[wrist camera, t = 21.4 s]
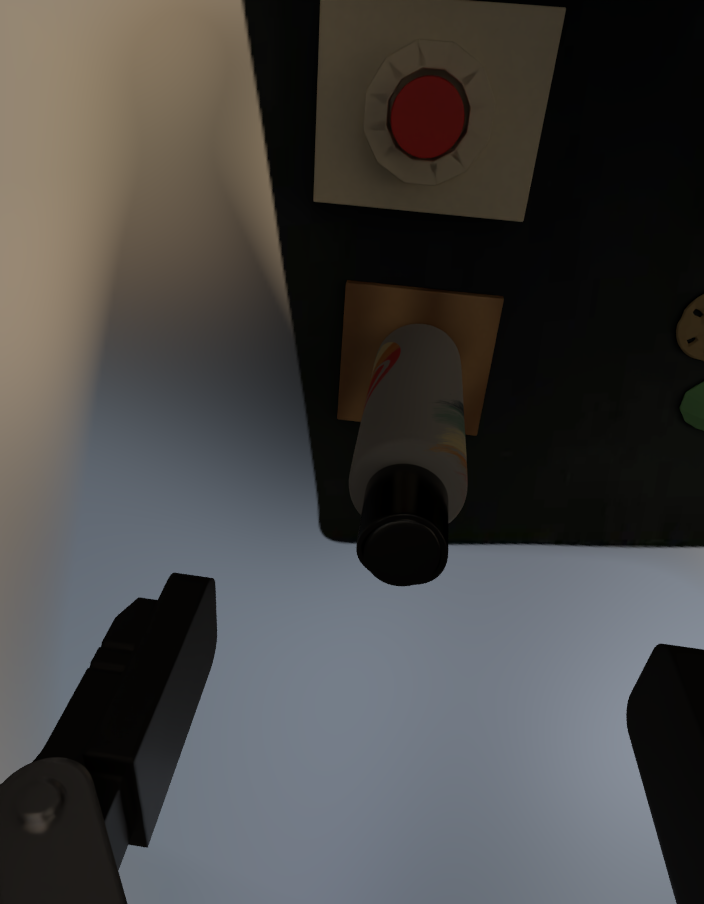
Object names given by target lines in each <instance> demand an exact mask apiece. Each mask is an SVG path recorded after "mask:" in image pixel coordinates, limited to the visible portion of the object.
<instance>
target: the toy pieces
mask: <svg viewBox="0 0 704 904" xmlns="http://www.w3.org/2000/svg"><path fill="white" fill-rule="evenodd" d="M695 309H698V310H700V311H701V312H702V313H703V315H702V316H701V317H698V316H695V315H694V314H693V313H692V312H693V311H694V310H695ZM693 337H695V340H694V341H693V342H692V343H689V344H688V342H687V340H688V339H691V338H693ZM676 338H677V342H678V344H679V346H680V348H681V350H682V351H683V352H684V353H685V354H687V355H688V356H690V357H691V358H695V359H699V360H703V361H704V353H703V352H704V294H703V295H701V296H699V297H698V298H696V299H695V300H694V301H692V302H691V303H690V304H689V305H688V306H687V308H686V309H685V310H684V312H683V315H682V317H681V319H680V321H679V322H678V324H677V329H676ZM679 408H680V411H681V413H682V415H683V418H684V420H685V422H687V423H688V424H690V425H692V426H693V427H695V428H697V429H700V430H703V431H704V381H703V382H701V383H700V384H698V385H696V386H695V387H693V388H691V389H689V390H688V391H686V392H685V394H684V397H683V399H682V402H681V404H680V407H679Z"/></svg>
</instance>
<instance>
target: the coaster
mask: <svg viewBox="0 0 704 904" xmlns="http://www.w3.org/2000/svg"><path fill="white" fill-rule="evenodd" d="M503 301H504V299H503V296H495V295H486V294H476V293H467V292H457V291H448V290H438V289H429V288H419V287H409V286H400V285H390V284H381V283H371V282H362V281H352V280H347V282H346V288H345V304H344V320H343V335H342V351H341V367H340V383H339V398H338V414H337V419H341V420H349V421H358V422H361V420H362V415H363V411H364V407H365V402H366V398H367V393H368V389H369V384H370V380H371V376H372V371H373V367H374V363H375V359H376V355H377V352H378V350H379V348H380V346H381V344H382V342H383V341H384V340H385V339H386V337H387V336H388V335H390V334H391V333H392V332H393V331H395V330H396V329H398V328H400V327H403V326H406V325H410V324H427V325H431V326H434V327H436V328H438V329H440V330H442V331H443V332H445V333H446V334H447V335H448V336H449V337H450V338H451V339H452V340H453V342H454V343H455V345H456V347H457V349H458V352H459V355H460V360H461V369H462V386H463V405H464V423H465V434H467V435H475V436H476V435H477V432H478V427H479V422H480V417H481V412H482V407H483V401H484V396H485V391H486V386H487V381H488V376H489V371H490V366H491V361H492V356H493V351H494V346H495V341H496V336H497V331H498V326H499V321H500V316H501V311H502V306H503Z"/></svg>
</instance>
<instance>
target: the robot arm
mask: <svg viewBox="0 0 704 904" xmlns="http://www.w3.org/2000/svg"><path fill="white" fill-rule="evenodd" d="M216 642H217V619H216V591H215V581H214V579H213V578H208V577H201V576H194V575H187V574H179V573H172V574H171V576H170V577H169V579H168V580H167V583H166V584H165V586H164V589H163V591H162V593H161V595H160V597H159V599H158V600H153V599H145V598H137V599H136V600H135V601H134V602H133V603H132V604H131V605H130V606H128V607H127V608H126V609H125V610H124V611H122V612H121V613H120V614H119V615H118V616H117V617H116V618H115V619H114V621H113V623H112V625H111V627H110V628H109V630H108V632H107V634H106V636H105V638H104V639H103V641H102V645H101V647H99V649H98V650H97V652H96V654H95V656H94V658H93V659H92V661H91V665H90V668H88V669H87V670H86V672H85V674H84V676H83V677H82V680H81V681H80V683H79V685H78V687H77V688H76V690H75V692H74V694H73V696H72V698H71V699H70V701H69V703H68V705H67V707H66V708H65V710H64V712H63V714H62V716H61V717H60V719H59V721H58V723H57V725H56V727H55V728H54V730H53V732H52V734H51V736H50V738H49V739H48V741H47V743H46V745H45V746H44V748H43V749H42V751H41V753H40V754H39V755H38V756H37V757H36V759H35V760H34V761H33V762H32V763H30V764H28V765H26V766H24V767H22V768H20V769H19V770H17V771H16V772H14V773H13V774H12V775H11V776H9V777H8V778H7V779H6V780H5V781H4V782H3V783H2V784H0V904H127V901H126V897H125V894H124V890H123V887H122V883H121V879H120V876H119V872H118V870H119V867H120V865H121V862H122V859H123V857H124V854H125V851H126V849H127V846H128V844H129V845H135V846H141V847H148V845H149V842H150V839H151V836H152V833H153V831H154V828H155V825H156V822H157V819H158V816H159V814H160V811H161V808H162V805H163V802H164V799H165V797H166V794H167V791H168V788H169V785H170V783H171V780H172V777H173V774H174V771H175V768H176V766H177V763H178V760H179V757H180V754H181V751H182V748H183V746H184V743H185V740H186V737H187V734H188V732H189V729H190V726H191V723H192V720H193V717H194V715H195V712H196V709H197V706H198V703H199V701H200V698H201V695H202V692H203V689H204V686H205V683H206V681H207V678H208V675H209V672H210V669H211V666H212V663H213V659H214V654H215V649H216ZM626 715H627V728H628V733H629V736H630V740H631V743H632V747H633V751H634V754H635V758H636V761H637V765H638V768H639V772H640V775H641V779H642V782H643V786H644V790H645V793H646V797H647V800H648V804H649V807H650V811H651V814H652V818H653V822H654V825H655V828H656V832H657V836H658V839H659V842H660V846H661V850H662V854H663V857H664V860H665V864H666V867H667V871H668V875H669V878H670V882H671V885H672V889H673V893H674V896H675V899H676V903H677V904H704V650H702V649H695V648H687V647H681V646H673V645H667V644H658V645H657V646H656V647H655V648H654V650H653V651H652V654H651V655H650V657H649V659H648V661H647V663H646V665H645V667H644V669H643V671H642V673H641V675H640V677H639V679H638V680H637V682H636V684H635V686H634V688H633V690H632V692H631V694H630V696H629V700H628V704H627V714H626Z"/></svg>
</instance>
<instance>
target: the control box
mask: <svg viewBox="0 0 704 904" xmlns="http://www.w3.org/2000/svg"><path fill="white" fill-rule="evenodd" d="M565 12H566V8H565V7H553V6H539V5H526V4H512V3H499V2H486V1H472V0H320V21H319V51H318V80H317V110H316V139H315V169H314V198H313V201H314V202H322V203H332V204H343V205H353V206H363V207H374V208H384V209H394V210H405V211H415V212H425V213H436V214H446V215H456V216H467V217H477V218H487V219H498V220H508V221H518V222H523V220H524V215H525V210H526V205H527V200H528V195H529V191H530V186H531V181H532V176H533V171H534V166H535V161H536V156H537V151H538V146H539V141H540V136H541V131H542V126H543V121H544V116H545V111H546V106H547V101H548V96H549V91H550V86H551V82H552V77H553V72H554V67H555V62H556V57H557V52H558V47H559V42H560V37H561V32H562V27H563V22H564V17H565ZM424 75H436V76H440V77H443V78H445V79H447V80H448V81H449V82H451V83H452V84H453V85H454V86H455V88H456V89H457V90H458V92H459V94H460V96H461V99H462V102H463V105H464V114H465V117H464V125H463V129H462V132H461V134H460V136H459V138H458V140H457V141H456V143H455V144H454V145H453V146H452V147H451V148H450V149H449V150H448V151H446V152H445V153H443V154H442V155H439V156H437V157H434V158H417V157H414V156H412V155H410V154H408V153H407V152H405V151H404V150H403V149H402V148H401V147H400V146H399V145H398V143H397V142H396V140H395V138H394V136H393V133H392V129H391V121H390V118H391V109H392V106H393V103H394V100H395V98H396V96H397V95H398V93H399V92H400V90H401V89H402V88H403V87H404V86H405V85H406V84H408V83H409V82H410V81H412V80H413V79H415V78H417V77H420V76H424Z"/></svg>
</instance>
